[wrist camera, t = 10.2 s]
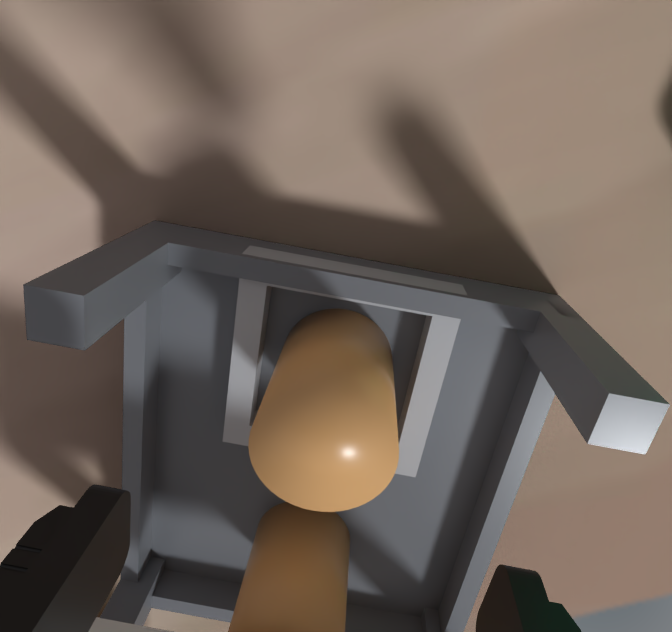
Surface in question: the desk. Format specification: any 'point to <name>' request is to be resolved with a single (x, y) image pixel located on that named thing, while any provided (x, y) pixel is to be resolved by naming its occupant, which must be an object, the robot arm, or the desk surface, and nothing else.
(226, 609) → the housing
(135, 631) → the lid
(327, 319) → the tan egg
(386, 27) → the desk surface
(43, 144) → the desk surface
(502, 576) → the robot arm
